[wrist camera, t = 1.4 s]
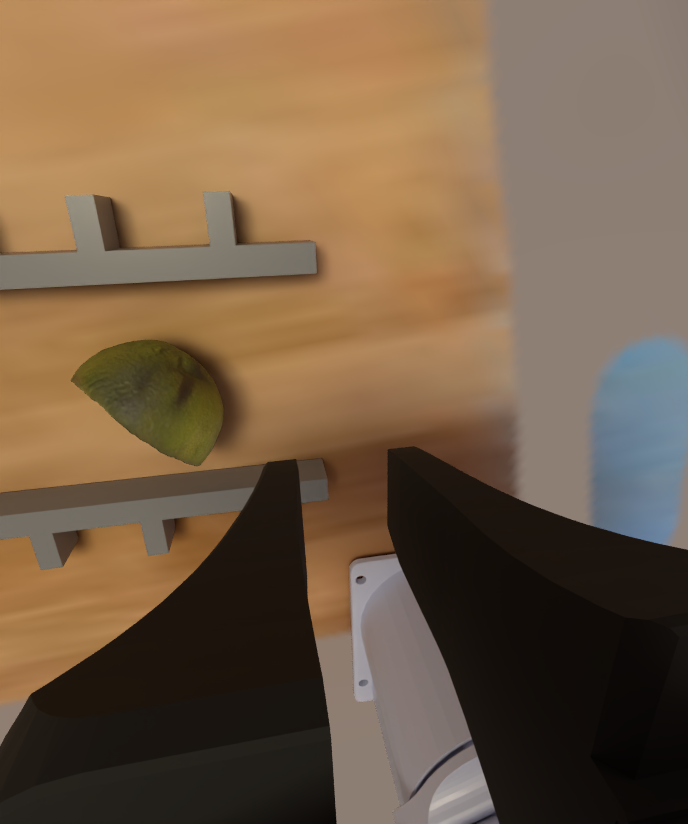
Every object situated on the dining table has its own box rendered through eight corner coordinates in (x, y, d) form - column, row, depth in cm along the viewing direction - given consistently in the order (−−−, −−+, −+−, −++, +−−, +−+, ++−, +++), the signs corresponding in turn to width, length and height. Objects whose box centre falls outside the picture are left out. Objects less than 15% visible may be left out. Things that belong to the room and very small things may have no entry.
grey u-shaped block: (324, 508, 22) (335, 553, 19) (-185, 571, 19) (-266, 635, 16) (306, 192, 17) (317, 186, 14) (-389, 210, 14) (-562, 208, 11)
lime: (224, 438, 20) (214, 504, 15) (98, 430, 19) (47, 498, 14) (231, 333, 18) (222, 370, 14) (94, 318, 17) (36, 353, 13)
